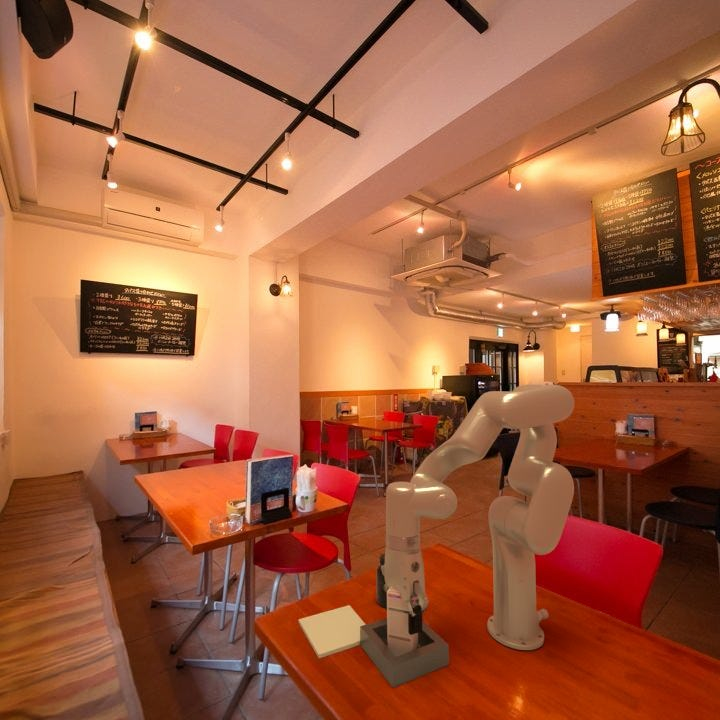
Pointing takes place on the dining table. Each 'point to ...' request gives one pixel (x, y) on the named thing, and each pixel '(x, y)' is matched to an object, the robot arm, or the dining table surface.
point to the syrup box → (399, 624)
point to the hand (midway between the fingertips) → (402, 620)
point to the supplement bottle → (380, 582)
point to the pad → (332, 630)
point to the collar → (409, 663)
